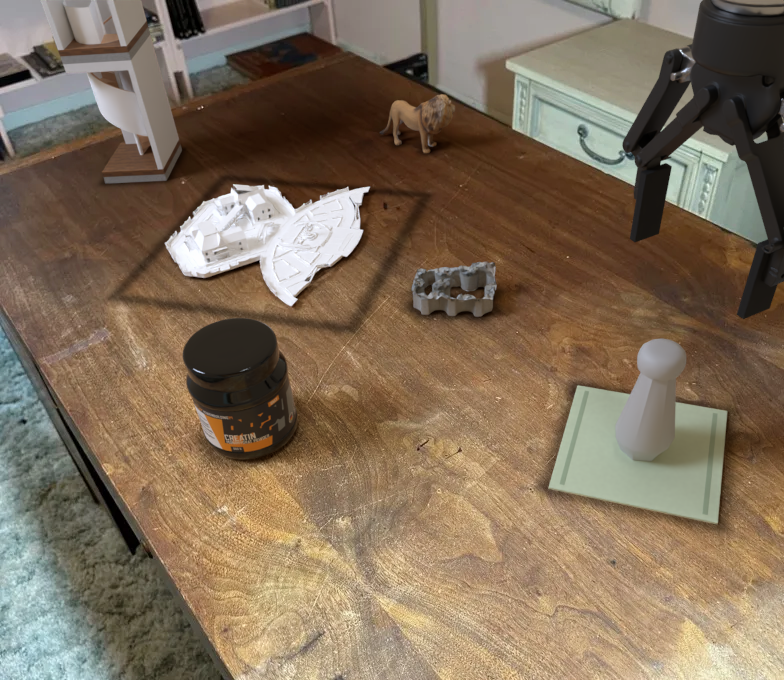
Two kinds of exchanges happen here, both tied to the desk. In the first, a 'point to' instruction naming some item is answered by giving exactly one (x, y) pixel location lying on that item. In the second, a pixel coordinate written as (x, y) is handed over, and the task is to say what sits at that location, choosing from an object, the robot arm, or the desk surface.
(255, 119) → the desk surface
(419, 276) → the egg carton
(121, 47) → the tiered tower model
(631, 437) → the salt shaker
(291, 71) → the desk surface
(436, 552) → the desk surface
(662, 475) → the napkin
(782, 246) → the robot arm
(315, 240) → the architectural model
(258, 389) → the supplement container
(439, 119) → the lion figurine
